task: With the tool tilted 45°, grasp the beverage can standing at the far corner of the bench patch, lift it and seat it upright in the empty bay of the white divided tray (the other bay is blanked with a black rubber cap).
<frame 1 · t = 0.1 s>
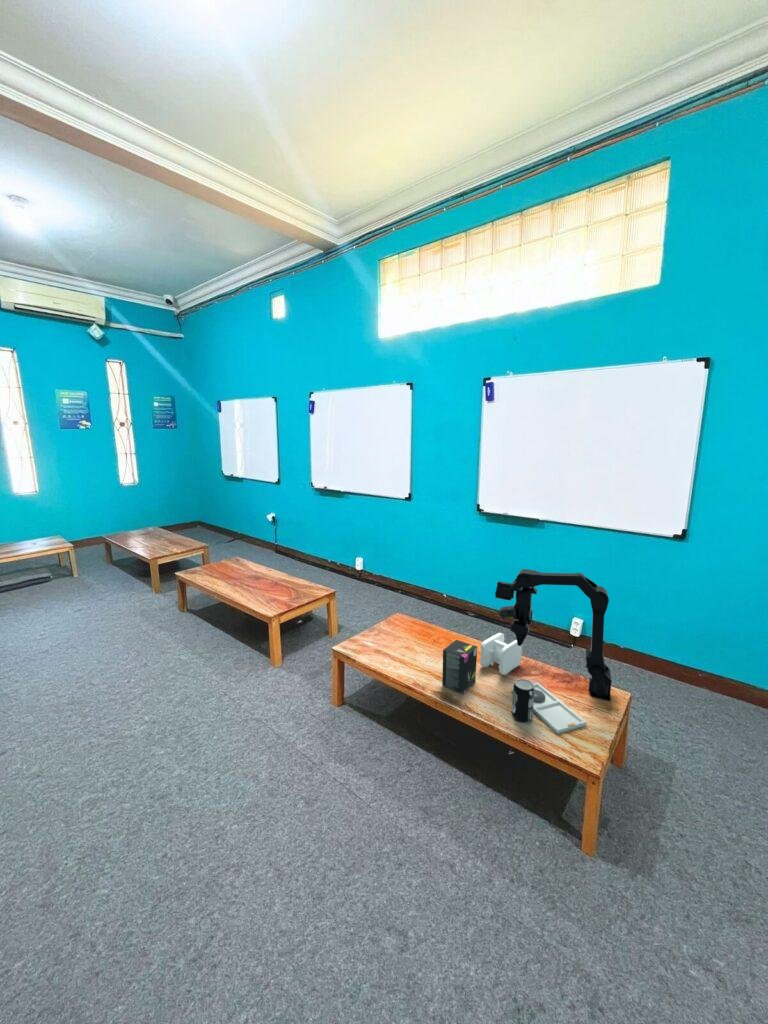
hand: (520, 640, 155), 15 cm above the table, tool pointing down, fingers open, 9 cm apart
white divided tray: (546, 707, 138), on the table
beverage can: (521, 717, 133), on the table
tampon box: (459, 684, 152), on the table
cable organizer: (500, 667, 164), on the table
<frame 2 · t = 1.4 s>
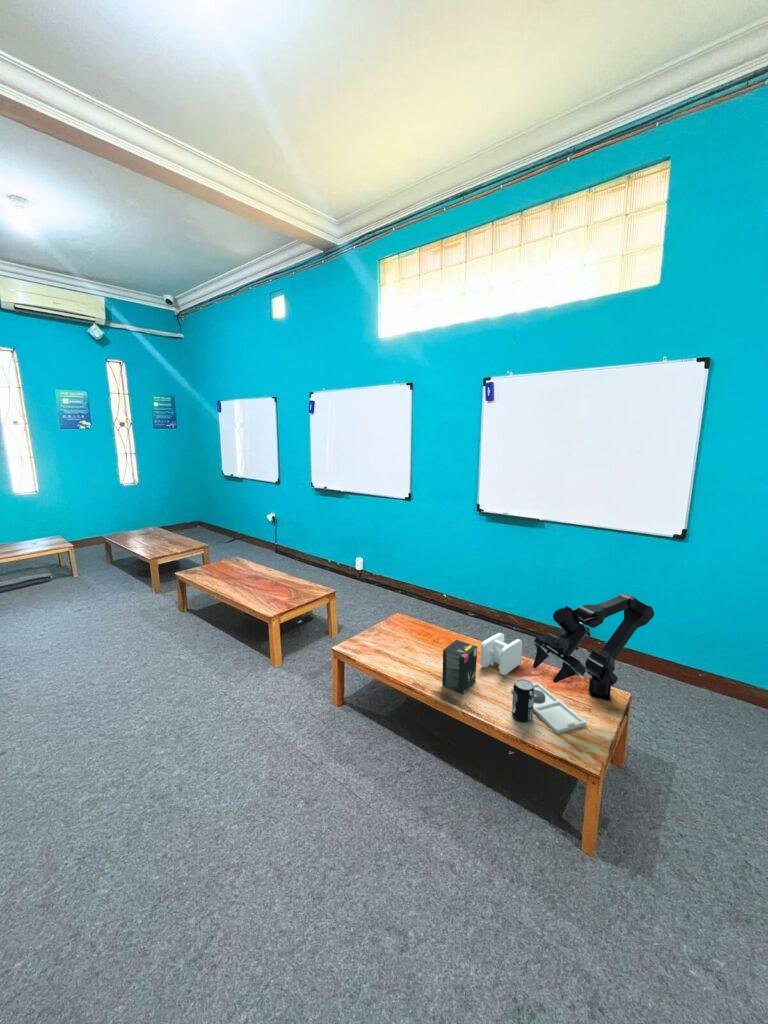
hand: (543, 674, 134), 13 cm above the table, tool tilted 45°, fingers open, 9 cm apart
nothing on the table moved.
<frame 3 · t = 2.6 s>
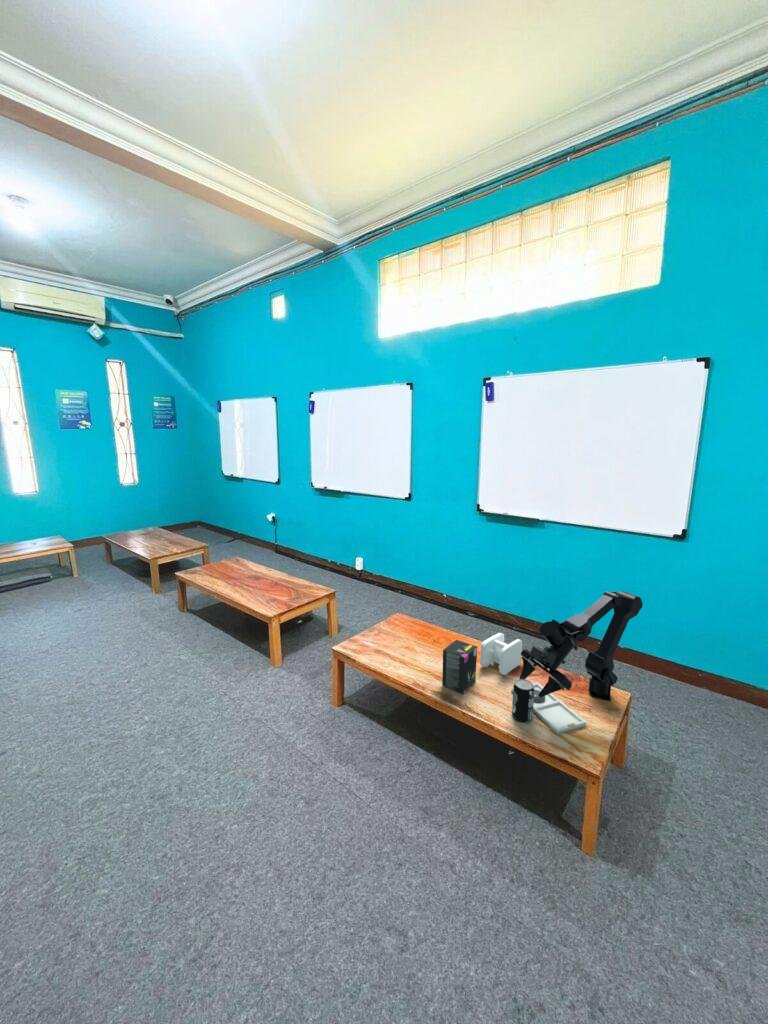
hand: (529, 688, 132), 10 cm above the table, tool tilted 45°, fingers open, 9 cm apart
nothing on the table moved.
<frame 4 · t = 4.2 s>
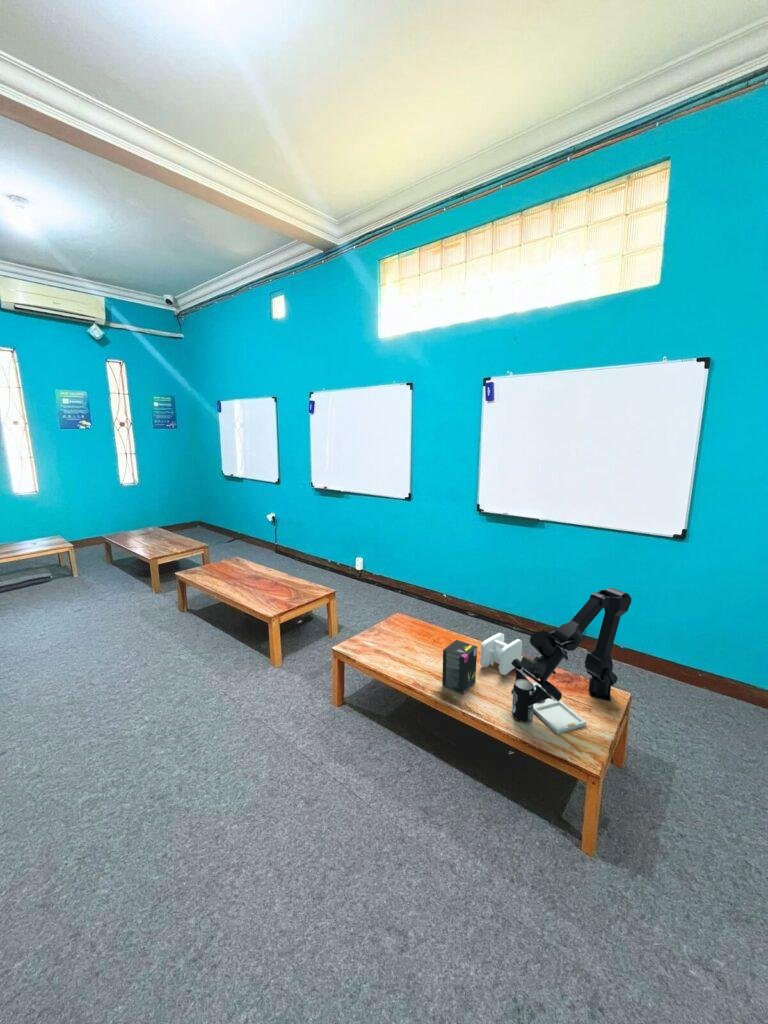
hand: (519, 699, 132), 7 cm above the table, tool tilted 45°, fingers closed on beverage can, 7 cm apart
beverage can: (521, 717, 133), on the table, touching gripper
everything else where it was.
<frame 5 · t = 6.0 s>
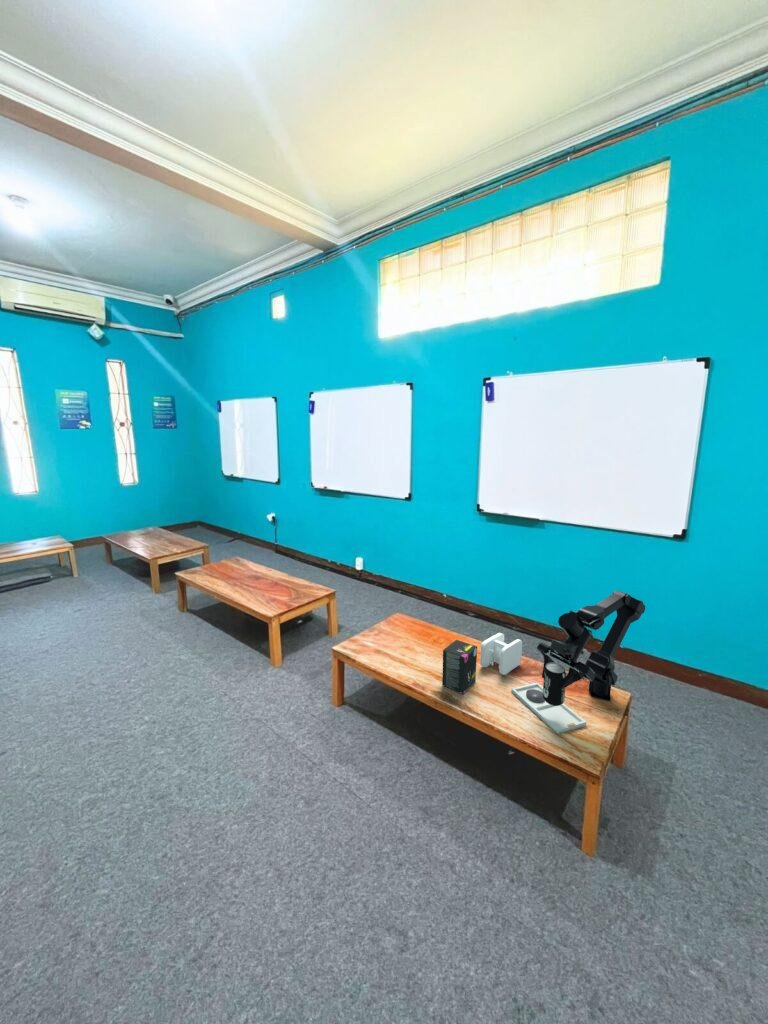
hand: (551, 683, 130), 13 cm above the table, tool tilted 45°, fingers closed on beverage can, 7 cm apart
beverage can: (553, 701, 132), point 6 cm above the table, touching gripper
everything else where it was.
when the fingers open (8 cm above the table, at t = 8.0 s): beverage can stays where it is, resting on white divided tray.
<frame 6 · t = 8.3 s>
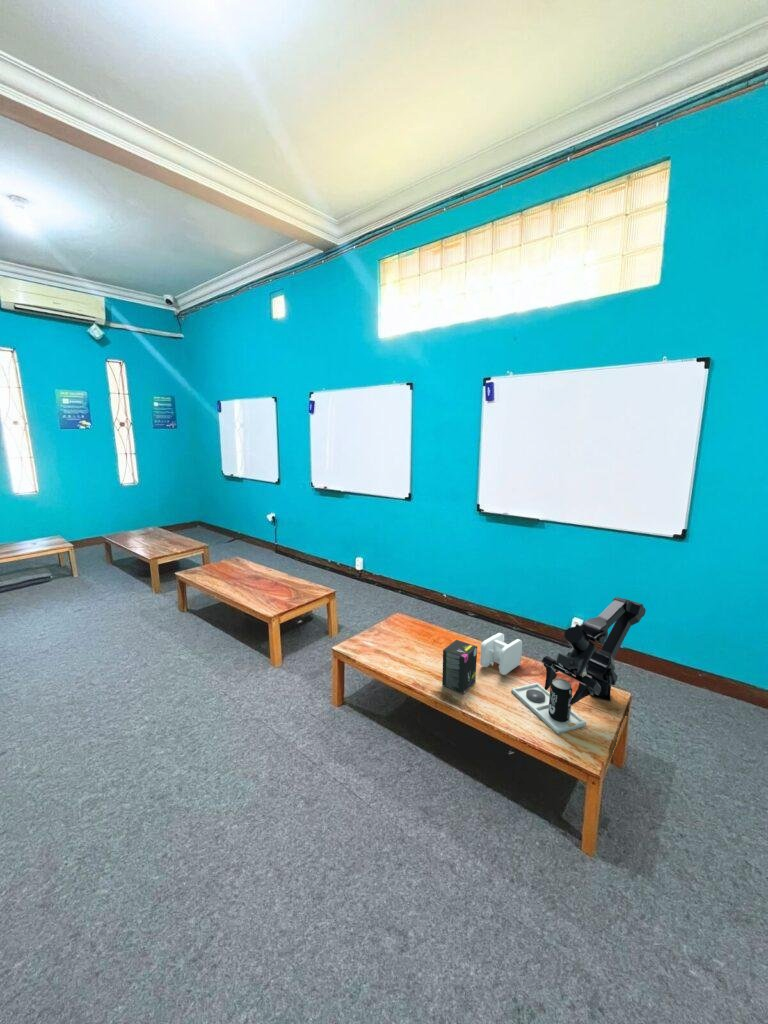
hand: (557, 696, 130), 8 cm above the table, tool tilted 45°, fingers open, 9 cm apart
beverage can: (558, 717, 133), resting on white divided tray
everything else where it was.
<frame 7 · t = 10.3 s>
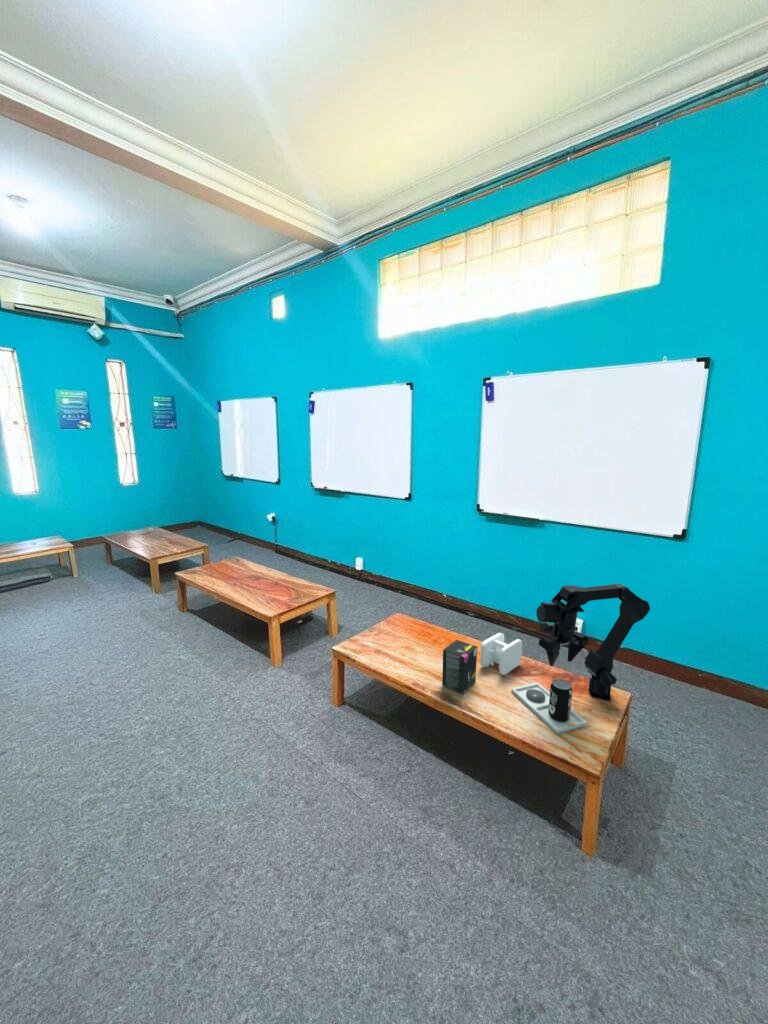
hand: (560, 663, 142), 13 cm above the table, tool pointing down, fingers open, 9 cm apart
nothing on the table moved.
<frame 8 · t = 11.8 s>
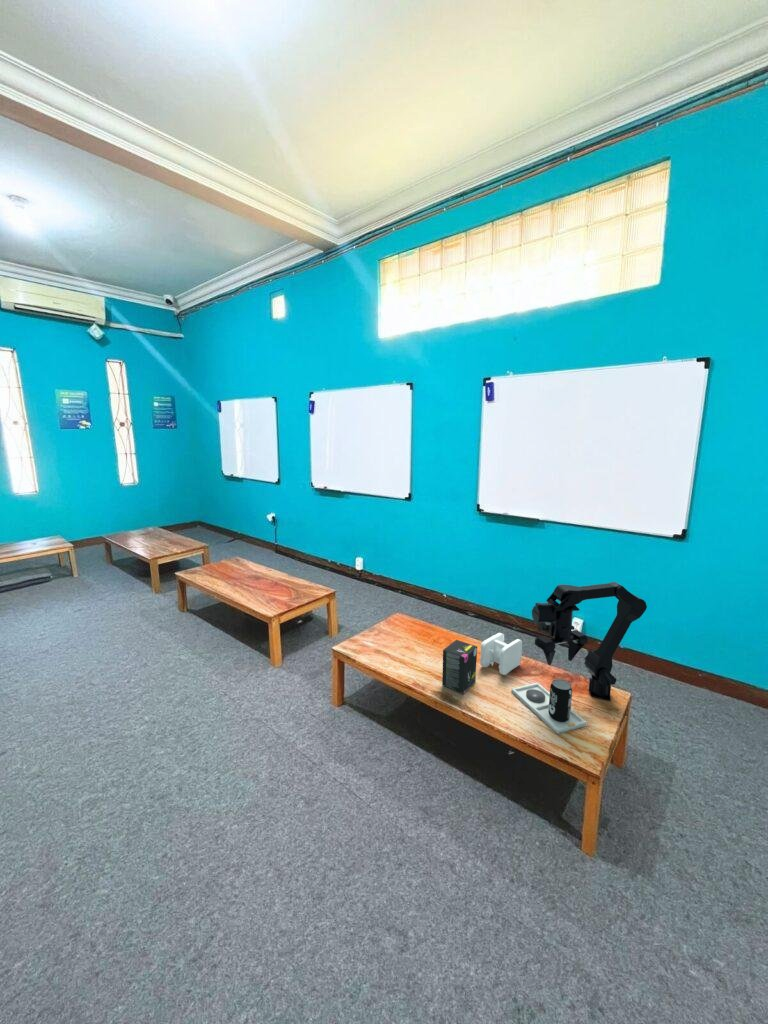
hand: (559, 662, 142), 13 cm above the table, tool pointing down, fingers open, 9 cm apart
nothing on the table moved.
at the end: beverage can inside the target area (0.4 cm from its centre), resting on white divided tray; beverage can tilted 0°; the gripper is holding nothing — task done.
